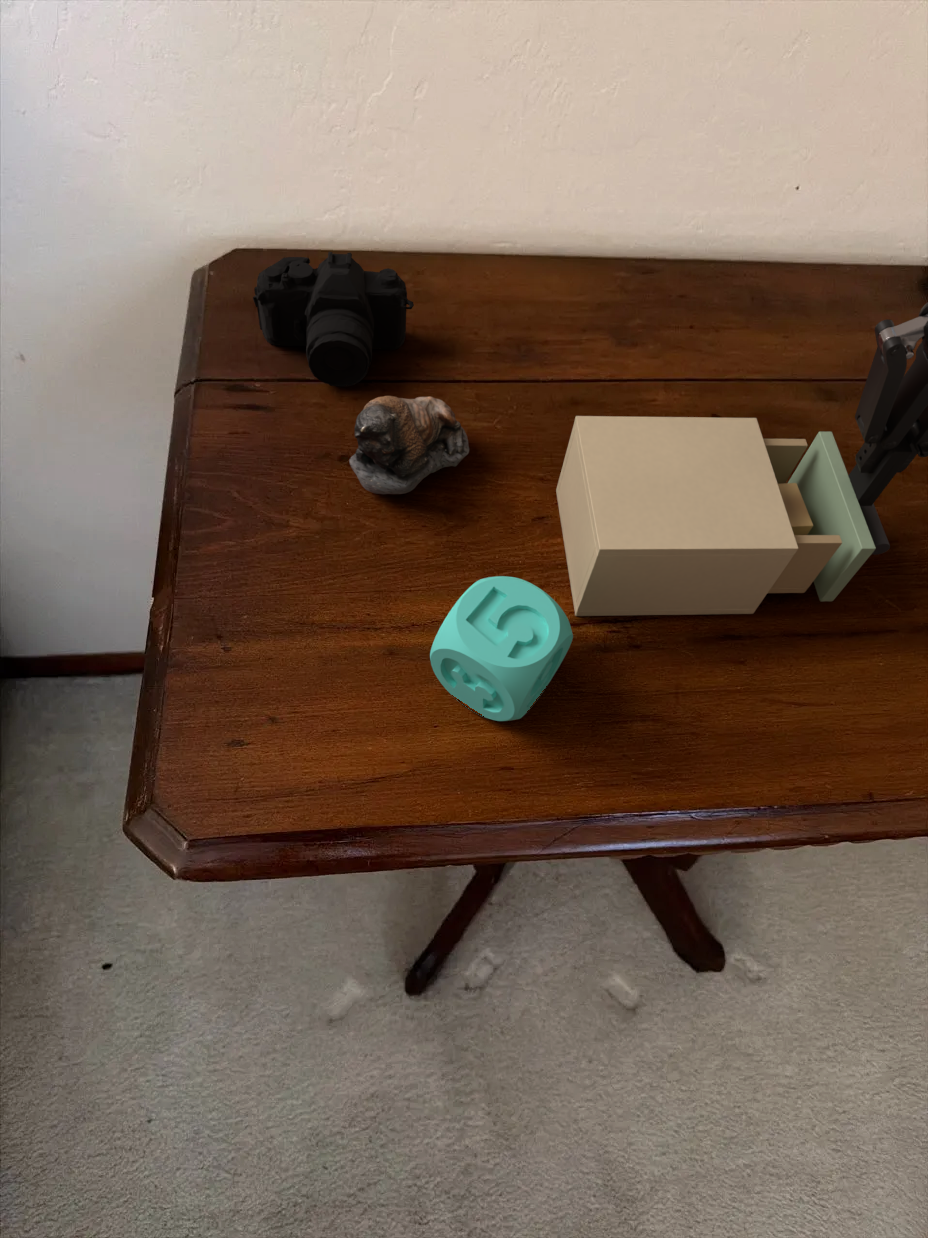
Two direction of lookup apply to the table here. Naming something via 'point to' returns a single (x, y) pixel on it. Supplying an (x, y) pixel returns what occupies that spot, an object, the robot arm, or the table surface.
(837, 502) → the drawer
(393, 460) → the bison figurine
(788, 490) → the block
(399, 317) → the film camera
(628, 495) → the cabinet
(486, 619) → the decorative dice
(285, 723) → the table surface
